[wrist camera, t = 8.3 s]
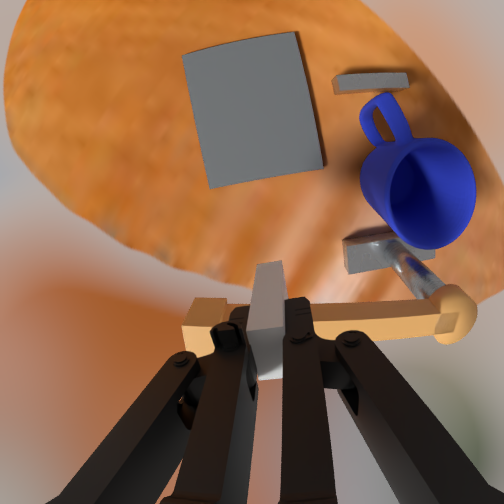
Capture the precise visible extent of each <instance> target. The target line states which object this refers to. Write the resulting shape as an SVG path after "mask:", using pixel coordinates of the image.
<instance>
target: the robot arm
mask: <svg viewBox="0 0 504 504" xmlns="http://www.w3.org/2000/svg"><path fill="white" fill-rule="evenodd" d="M210 335H211V338H212V341H213V344H214V347H215V349H214V352H213V353H211V354H208V355H205V356H202V357H198V358H197V356H196V354H195V353H193V352H191V351H182V352H178V353H176V354H174V355H172V356H171V357H170V358H169V359H168V360H167V361H166V363H165V364H164V365H163V366H162V368H161V369H160V370H159V371H158V373H157V374H156V375H155V376H154V378H153V379H152V380H151V381H150V383H149V384H148V385H147V386H146V388H145V389H144V390H143V391H142V393H141V394H140V395H139V396H138V398H137V399H136V400H135V401H134V403H133V404H132V405H131V406H130V408H129V409H128V410H127V411H126V413H125V414H124V415H123V416H122V417H121V419H120V420H119V421H118V422H117V424H116V425H115V426H114V427H113V429H112V430H111V431H110V432H109V434H108V435H107V436H106V438H105V439H104V440H103V441H102V442H101V444H100V445H99V446H98V447H97V449H96V450H95V451H94V452H93V454H92V455H91V456H90V457H89V459H88V460H87V461H86V462H85V463H84V465H83V466H82V467H81V468H80V470H79V471H78V472H77V474H76V475H75V476H74V477H73V478H72V480H71V481H70V482H69V483H68V485H67V486H66V487H65V488H64V490H63V491H62V492H61V494H60V495H59V496H57V497H55V498H54V499H52V500H51V501H49V502H47V503H46V504H155V503H156V501H157V500H158V498H159V497H160V495H161V493H162V492H163V490H164V488H165V487H166V485H167V483H168V482H169V480H170V479H171V477H172V475H173V474H174V472H175V470H176V469H177V467H178V465H179V464H180V462H181V460H182V459H183V460H182V463H181V467H180V470H179V474H178V478H177V481H176V485H175V488H174V491H173V493H172V495H171V496H167V497H164V498H163V499H162V500H161V502H160V504H247V497H248V488H249V479H250V470H251V459H252V451H253V441H254V430H255V421H256V410H257V400H258V384H257V381H256V379H257V374H258V378H259V380H267V379H277V378H283V395H282V396H283V397H282V398H283V401H282V404H283V405H282V457H281V462H282V463H281V490H280V501H279V502H278V504H338V502H337V496H336V489H335V479H334V469H333V460H332V459H333V458H332V449H331V442H330V441H331V440H330V432H329V424H328V416H327V408H326V400H325V393H324V388H329V389H337V391H338V394H339V395H340V397H341V399H342V401H343V403H344V404H345V406H346V408H347V410H348V411H349V413H350V415H351V417H352V418H353V420H354V422H355V424H356V426H357V427H358V429H359V431H360V433H361V435H362V436H363V438H364V440H365V442H366V444H367V445H368V447H369V449H370V451H371V452H372V454H373V456H374V458H375V459H376V462H377V463H378V465H379V467H380V469H381V471H382V472H383V474H384V476H385V478H386V480H387V481H388V483H389V485H390V487H391V488H392V490H393V492H394V494H395V496H396V498H397V499H398V501H399V503H400V504H504V493H503V492H501V491H499V490H497V489H495V488H494V487H491V486H490V485H488V483H487V482H486V481H485V479H484V478H483V477H482V475H481V474H480V473H479V471H478V470H477V469H476V467H475V466H474V465H473V463H472V462H471V461H470V460H469V458H468V457H467V456H466V454H465V453H464V452H463V451H462V449H461V448H460V447H459V445H458V444H457V443H456V442H455V440H454V439H453V438H452V436H451V435H450V434H449V433H448V431H447V430H446V429H445V428H444V426H443V425H442V424H441V423H440V421H439V420H438V419H437V418H436V416H435V415H434V414H433V413H432V412H431V410H430V409H429V408H428V407H427V405H426V404H425V403H424V402H423V401H422V399H421V398H420V397H419V396H418V395H417V393H416V392H415V391H414V390H413V388H412V387H411V386H410V385H409V384H408V382H407V381H406V380H405V379H404V378H403V376H402V375H401V374H400V373H399V372H398V370H397V369H396V368H395V367H394V366H393V364H392V363H391V362H390V361H389V360H388V359H387V358H386V356H385V355H384V354H383V353H382V352H381V350H380V349H379V348H378V347H377V346H376V345H375V343H374V342H373V341H372V340H371V339H370V338H369V336H368V335H367V334H365V333H364V332H362V331H358V330H349V331H345V332H343V333H341V334H339V335H338V336H337V337H336V339H335V340H328V339H323V338H321V337H319V336H318V335H317V334H316V333H315V331H314V324H313V318H312V313H311V307H310V301H309V300H308V299H307V298H305V297H299V298H292V299H288V294H287V288H286V282H285V276H284V271H283V265H282V260H281V261H275V262H268V263H262V264H257V268H256V274H255V280H254V286H253V292H252V298H251V304H250V305H248V306H240V307H235V309H234V310H233V311H232V312H231V313H230V316H229V320H228V321H225V322H221V323H219V324H217V325H215V326H214V327H213V328H212V329H211V330H210ZM181 397H182V399H181ZM180 399H181V400H180ZM179 400H180V401H179Z"/></svg>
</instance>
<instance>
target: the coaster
mask: <svg viewBox="0 0 504 504" xmlns="http://www.w3.org/2000/svg"><path fill="white" fill-rule="evenodd" d="M182 59H183V64H184V69H185V75H186V80H187V85H188V90H189V95H190V99H191V104H192V109H193V114H194V119H195V124H196V128H197V133H198V138H199V142H200V147H201V152H202V156H203V161H204V165H205V170H206V174H207V179H208V183H209V188H210V189H213V188H218V187H223V186H227V185H232V184H238V183H243V182H248V181H253V180H259V179H264V178H270V177H275V176H281V175H287V174H293V173H299V172H306V171H312V170H319V169H324V168H323V162H322V156H321V150H320V145H319V139H318V134H317V129H316V124H315V118H314V114H313V109H312V104H311V99H310V95H309V90H308V86H307V81H306V77H305V73H304V68H303V64H302V60H301V56H300V52H299V48H298V44H297V41H296V37H295V33H294V32H290V33H282V34H275V35H269V36H263V37H257V38H251V39H246V40H241V41H237V42H232V43H227V44H223V45H219V46H215V47H211V48H207V49H203V50H200V51H196V52H192V53H189V54H186V55H182Z"/></svg>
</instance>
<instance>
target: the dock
mask: <svg viewBox="0 0 504 504" xmlns="http://www.w3.org/2000/svg"><path fill="white" fill-rule="evenodd" d="M332 85H333V90H334V94H335V95H340V94H352V93H366V92H386V91H401V90H404V89H407V88H410V87H409V83H408V78H407V74H406V73H363V74H346V75H336V76H335V77H334V78H333V79H332ZM342 243H343V253H344V264H345V268H346V270H347V272H348V274H355V273H360V272H366V271H371V270H377V269H382V268H387V267H392V269H393V270H394V271H395V272H396V273H397V275H398V276H399V277H400V278H401V280H402V281H403V282H404V283H405V284H406V286H407V287H408V288H409V289H410V291H411V292H412V293H413V294H414V296H415V297H416V298H417V299H429V297H430V296H431V295H432V294H433V293H434V292H435V291H436V290H437V289H438V288H440V287H442V286H444V285H445V284H444V283H443V282H442V281H441V280H440V279H439V278H438V277H437V276H436V275H435V274H434V273H433V272H432V271H431V270H430V269H429V268H428V267H427V266H426V265H425V264H423V263H422V262H421V261H423V260H428V259H433V258H435V249H433V250H424V249H419V248H415V247H413V246H411V245H409V244H407V243H406V242H404V241H403V240H402V239H401V238H400V237H399V236H398V235H397V234H396V233H395V232H388V233H382V234H376V235H370V236H363V237H357V238H351V239H345V240H342Z"/></svg>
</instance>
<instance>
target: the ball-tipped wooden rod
mask: <svg viewBox="0 0 504 504" xmlns="http://www.w3.org/2000/svg"><path fill="white" fill-rule="evenodd" d="M248 305H250V304H227V299H226V298H195V299H194V301H193V303H192V305H191V307H190V309H189V311H188V313H187V316H186V318H185V320H184V322H183V324H182V331H183V336H184V341H185V346H186V351H191V352H193V353H195V354H196V356H197V358H198V357H202V356H205V355H208V354H211V353H213V352H214V349H215V347H214V344H213V341H212V338H211V335H210V330H211V329H212V328H213V327H214V326H215V325H217V324H219V323H221V322H225V321H228V320H229V316H230V313H231V312H232V311H233V310H234V309H235V307H240V306H248ZM310 307H311V313H312V318H313V324H314V331H315V333H316V334H317V335H318V336H319V337H321V338H323V339H328V340H335V339H336V337H337V336H338V335H339V334H341V333H343V332H345V331H349V330H358V331H362V332H364V333H365V334H367V335H368V336H369V338H370V339H371V340H372V341H379V340H390V339H402V338H411V337H420V336H429V335H434V337H435V338H436V340H437V341H438V342H439V343H442V344H452V343H455V342H457V341H459V340H461V339H462V338H463V337H464V336H466V335H467V334H468V332H469V331H470V330H471V328H472V327H473V325H474V323H475V321H476V318H477V305H476V303H475V302H474V301H473V300H472V299H471V298H470V297H469V296H468V295H467V294H466V293H465V292H464V291H463V290H462V289H461V288H460V287H459V286H457V285H454V284H448V285H444V286H442V287H440V288H438V289H437V290H436V291H435V292H434V293H433V294H432V295H431V296H430V297H429V299H416V300H400V301H381V302H358V303H325V304H310Z"/></svg>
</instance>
